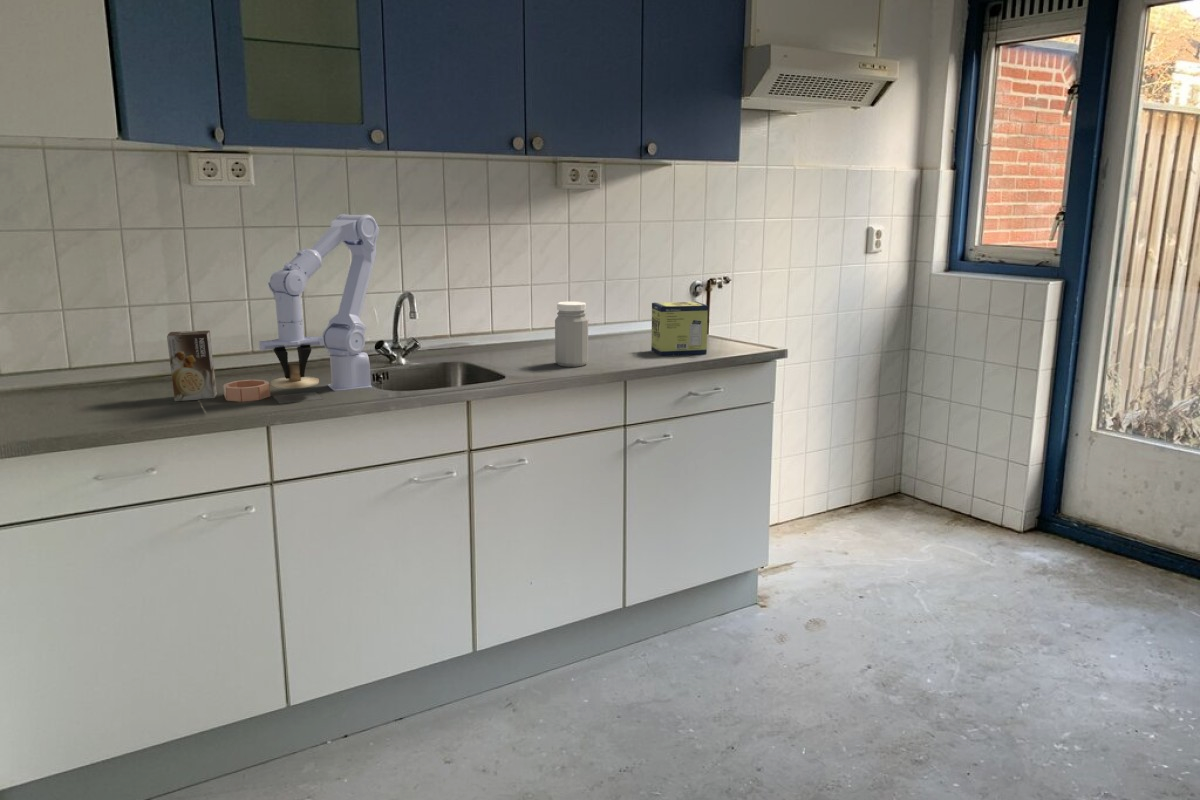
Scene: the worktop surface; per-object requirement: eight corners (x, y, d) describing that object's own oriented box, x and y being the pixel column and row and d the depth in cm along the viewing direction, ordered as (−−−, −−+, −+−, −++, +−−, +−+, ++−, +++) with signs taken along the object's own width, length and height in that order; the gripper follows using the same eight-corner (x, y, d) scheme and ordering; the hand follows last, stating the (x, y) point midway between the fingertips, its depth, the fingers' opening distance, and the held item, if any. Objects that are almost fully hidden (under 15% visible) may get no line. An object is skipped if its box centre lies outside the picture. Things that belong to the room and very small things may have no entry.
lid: (313, 377, 223) (312, 358, 222) (323, 385, 214) (322, 366, 213) (267, 381, 218) (265, 362, 217) (275, 390, 208) (273, 369, 207)
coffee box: (217, 393, 222) (211, 329, 219) (214, 399, 216) (208, 333, 213) (177, 396, 220) (170, 331, 216) (173, 401, 214) (166, 335, 210)
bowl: (265, 392, 224) (264, 378, 224) (272, 399, 216) (271, 385, 215) (223, 396, 220) (221, 382, 219) (228, 404, 211) (227, 389, 210)
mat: (315, 393, 223) (315, 391, 223) (323, 400, 215) (323, 398, 215) (273, 397, 218) (273, 396, 218) (279, 405, 211) (279, 403, 210)
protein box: (650, 350, 286) (651, 302, 282) (696, 349, 289) (697, 301, 286) (659, 356, 276) (660, 306, 273) (707, 354, 279) (709, 304, 276)
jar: (548, 363, 263) (547, 302, 259) (574, 360, 269) (573, 300, 265) (569, 368, 256) (569, 305, 252) (595, 364, 262) (595, 303, 258)
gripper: (260, 325, 205) (265, 383, 209) (324, 321, 212) (329, 377, 215) (255, 321, 211) (260, 377, 215) (318, 317, 218) (322, 372, 221)
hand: (294, 377), depth 215 cm, fingers closed on lid, 3 cm apart
